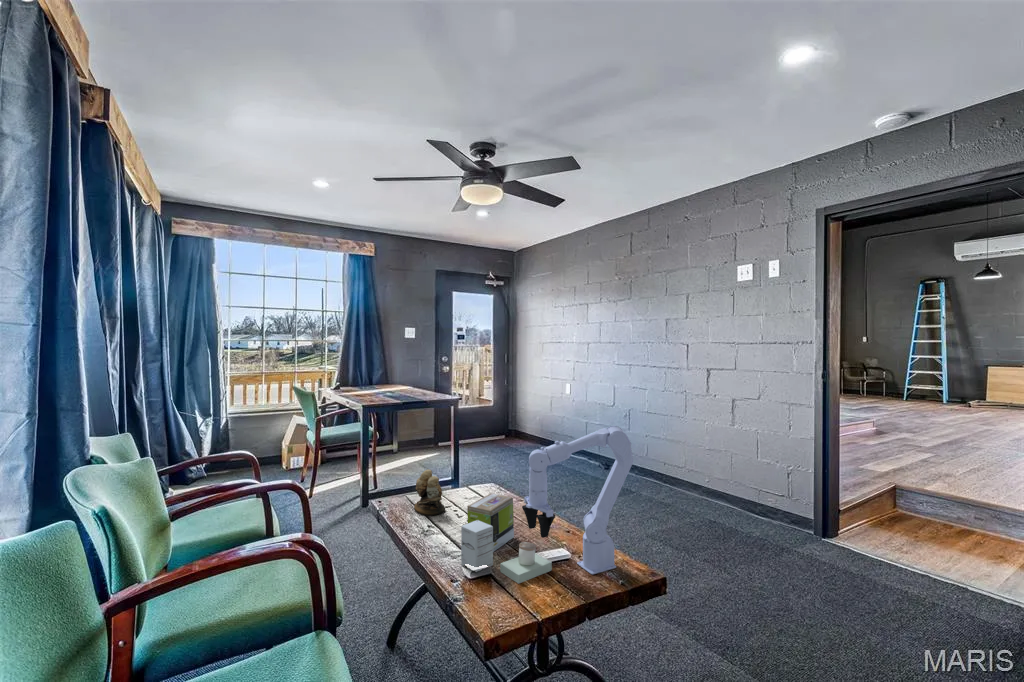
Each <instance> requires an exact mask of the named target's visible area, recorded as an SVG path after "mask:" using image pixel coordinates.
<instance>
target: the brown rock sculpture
mask: <svg viewBox="0 0 1024 682" xmlns="http://www.w3.org/2000/svg"><path fill="white" fill-rule="evenodd" d="M415 490H416V492H417V494H418V497H420V499H419V500H417V502H416V503H415V504H414V506H413V510H414V511H415V513H417V514H419V515H420V514H421V516H424V515H425V516H426V517H431V516H432V517H433V516H437V515H442V513H443V512H444V513H445V511H446V507H445V505H444V504H443V503H442V501H443V500H442V499H443V498H442V495H443V489H442V486H441V485H440V479H439V476H436V475H433V470H431V469H426V470H424V471H423V472H422V473H421V474H420V476H419V477H418V478H417V479H416V483H415ZM444 513H443V514H444Z"/></svg>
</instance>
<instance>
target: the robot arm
mask: <svg viewBox="0 0 1024 682" xmlns="http://www.w3.org/2000/svg"><path fill="white" fill-rule="evenodd" d="M595 446H597V447H601V448H605V449H606V448H607V447H609V448H610V450H611V451H612V454H613V456H614V458H615V460H614V463H613V464H612V466H611V469H610V471H609V474H608V475H607V478H606V480H605V482H604V484H603V487H602V488H601V491H600V493H599V495H598V497H597V500H596V501H595V504H594V505H592V507H591V509H590V510H589V511H588V512H587V513H586V514H585V515H584V517H583V519H582V524H583V526H584V531H585V532H584V533H583V535H582V560H580V561H577V562H576V564H577V565H578V566H580V567H581V568H582V569H583V570H584V571H586V572H588V573H589V574H590V575H596V574H600V573H603V572H606V571H610V570H613V569H616V568H617V566H616V565H615V544H614V543H615V542H614V541H613V538H612V537H610V535H608V534H607V527H608V524H609V522H610V521H609V520H610V514H611V511H612V509H613V507H614V506H615V503H616V501H617V499H618V496H619V494H620V492H621V489H622V487H623V485H624V483H625V481H626V479H627V476H628V474H629V472H630V470H631V468H632V466H633V463H634V457H633V451H632V443H631V440H630V439H629V437H628V435H627V433H625V432H624V431H623V430H622V428H621V427H619V426H617V425H610V426H607V427H602V428H600V429H597V430H596V431H595V430H594V431H593V432H591V433H587V434H585V435H583V436H581V437H579V438H576V439H574V440H571V441H570V442H566V441H563V440H562V441H559V440H555V441H554V443H553V444H551V445H548V446H545V447H544V446H541V447H540V449H537V448H536V449H533V450H532V451H531V453H530V454H529V456H528V466H529V469H528V470H529V474H528V480H529V481H528V495H527V496H524V497H523V501H524V502H523V503H524V504H523V505H522V507H521V509H522V510H523V512H524V514H525V517H526V522H527V526H528V529H529V530H532V529H536V527H537V521H538V524H539V531H540V537H541V538H542V539H544V538H548V537H549V534H550V530H551V526H552V523H553V521H554V520H555V518H556V514H555V513H554V509H552V507H551V506H550V504H549V503H548V474H547V467H548V466H552V465H556V464H559V463H561V462H564V461H566V460H569V459H570V458H571V455H572V454H573V453H576V452H580V451H583V450H585V449H589V448H592V447H595ZM539 511H540V512H541V513H542V514H538V512H539Z"/></svg>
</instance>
